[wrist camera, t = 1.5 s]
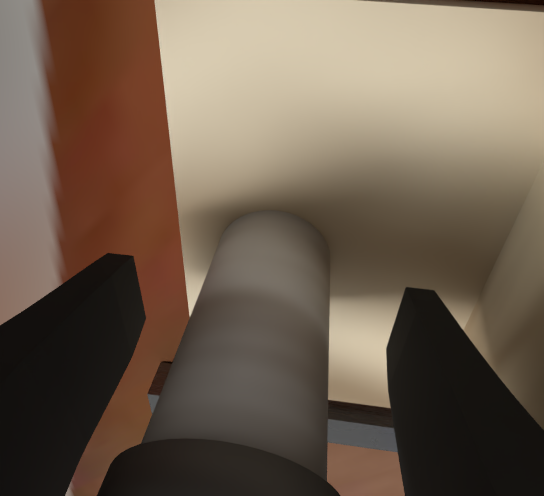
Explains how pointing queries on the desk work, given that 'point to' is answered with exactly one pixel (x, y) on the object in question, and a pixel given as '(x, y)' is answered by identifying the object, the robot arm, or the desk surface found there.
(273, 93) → the clamp jaw
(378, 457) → the desk surface
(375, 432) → the grey tray
